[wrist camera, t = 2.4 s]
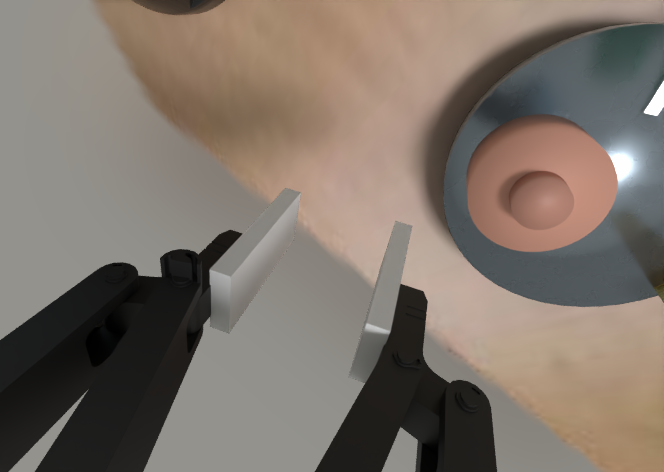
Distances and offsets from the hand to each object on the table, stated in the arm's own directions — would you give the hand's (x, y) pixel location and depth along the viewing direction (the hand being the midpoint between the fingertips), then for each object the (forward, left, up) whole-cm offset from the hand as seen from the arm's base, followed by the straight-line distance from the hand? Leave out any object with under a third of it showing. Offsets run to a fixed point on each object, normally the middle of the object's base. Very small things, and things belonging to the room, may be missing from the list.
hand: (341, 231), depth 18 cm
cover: (+11, 0, -15) cm, 19 cm away
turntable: (+17, 0, -17) cm, 24 cm away
